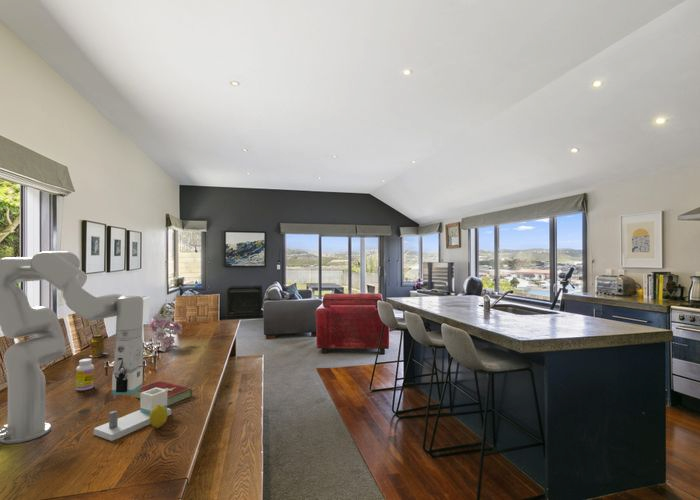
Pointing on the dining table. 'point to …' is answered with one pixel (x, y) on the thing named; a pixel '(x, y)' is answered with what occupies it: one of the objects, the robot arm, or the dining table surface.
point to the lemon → (158, 416)
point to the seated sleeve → (152, 399)
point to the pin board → (123, 424)
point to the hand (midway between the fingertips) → (127, 387)
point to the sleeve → (130, 381)
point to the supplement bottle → (85, 375)
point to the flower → (160, 325)
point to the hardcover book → (168, 391)
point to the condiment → (97, 346)
